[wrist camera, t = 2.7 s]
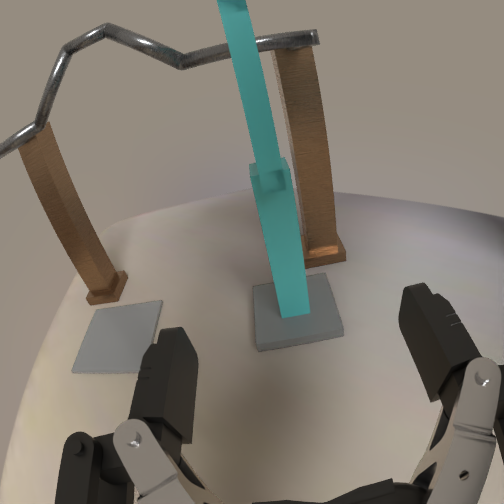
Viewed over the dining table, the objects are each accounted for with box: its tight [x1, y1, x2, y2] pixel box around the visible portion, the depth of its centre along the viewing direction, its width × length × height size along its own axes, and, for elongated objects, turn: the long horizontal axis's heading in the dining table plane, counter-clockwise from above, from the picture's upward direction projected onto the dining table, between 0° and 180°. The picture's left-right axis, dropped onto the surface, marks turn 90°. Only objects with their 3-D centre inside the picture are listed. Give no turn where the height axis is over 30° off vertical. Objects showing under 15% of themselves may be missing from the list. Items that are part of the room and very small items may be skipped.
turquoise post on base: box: [217, 0, 344, 352], centre depth 19 cm, size 8×7×24 cm
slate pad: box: [72, 300, 163, 373], centre depth 28 cm, size 9×9×1 cm
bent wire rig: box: [0, 23, 346, 305], centre depth 24 cm, size 30×11×26 cm, turn 92°
